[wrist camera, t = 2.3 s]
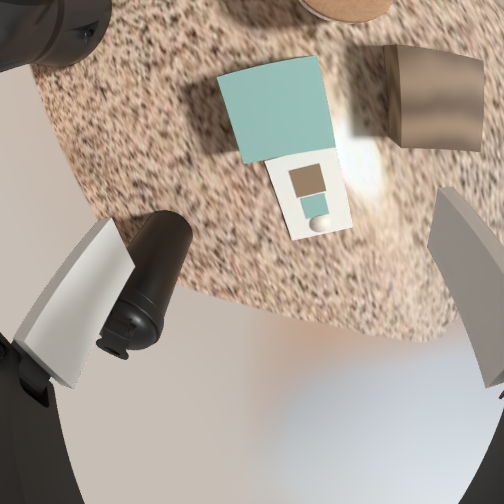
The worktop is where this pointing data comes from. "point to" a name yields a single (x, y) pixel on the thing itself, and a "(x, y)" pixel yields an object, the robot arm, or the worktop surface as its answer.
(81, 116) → the worktop surface
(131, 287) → the water bottle
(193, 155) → the worktop surface
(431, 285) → the worktop surface
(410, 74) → the walnut base
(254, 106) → the teal brick
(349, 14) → the lidded jar
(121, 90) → the worktop surface
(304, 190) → the page
